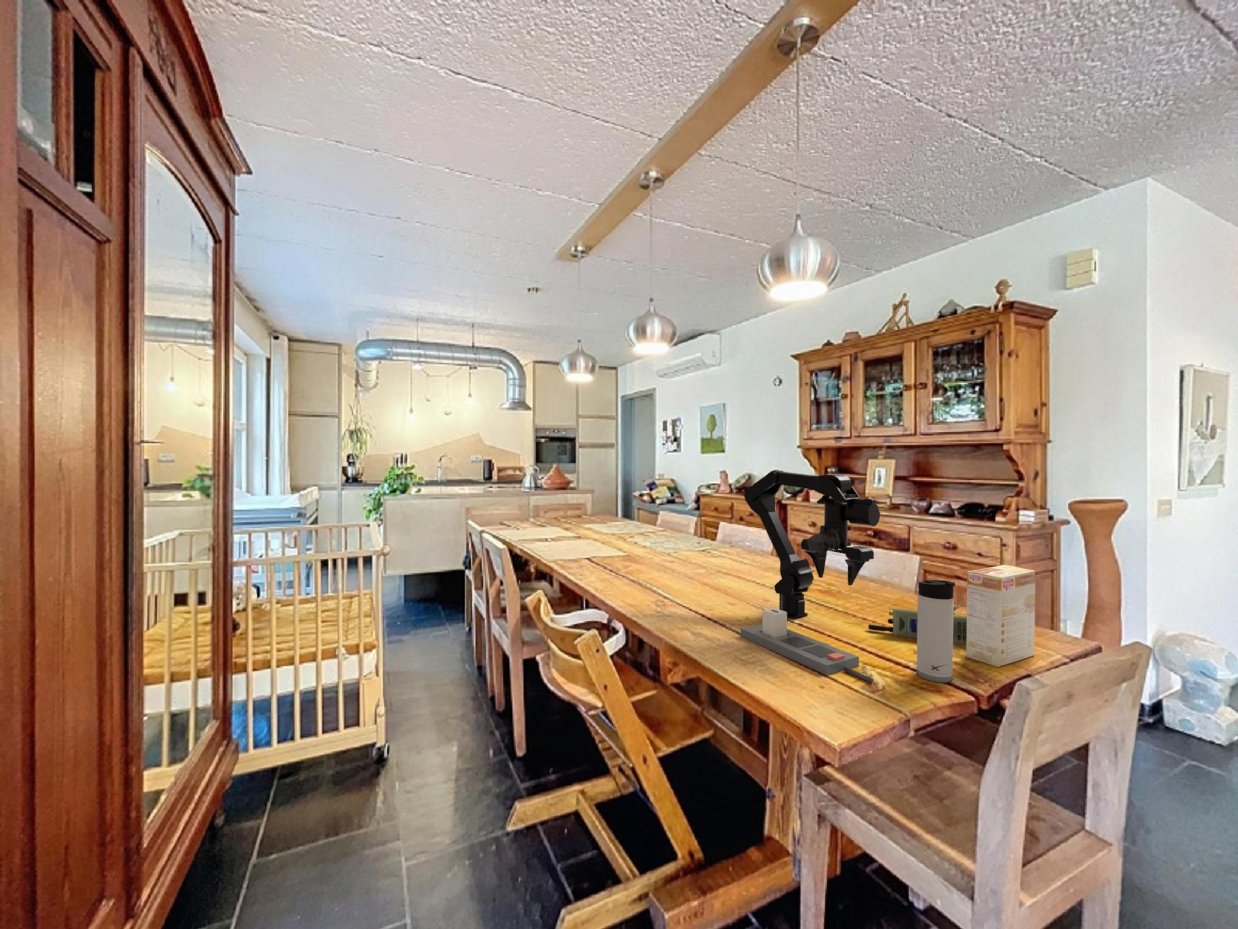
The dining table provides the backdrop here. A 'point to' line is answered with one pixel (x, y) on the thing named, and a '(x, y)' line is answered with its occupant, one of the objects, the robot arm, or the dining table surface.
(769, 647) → the power strip
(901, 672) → the dining table surface
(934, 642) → the travel mug
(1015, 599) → the coffeecake box
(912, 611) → the handheld radio
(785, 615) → the block
